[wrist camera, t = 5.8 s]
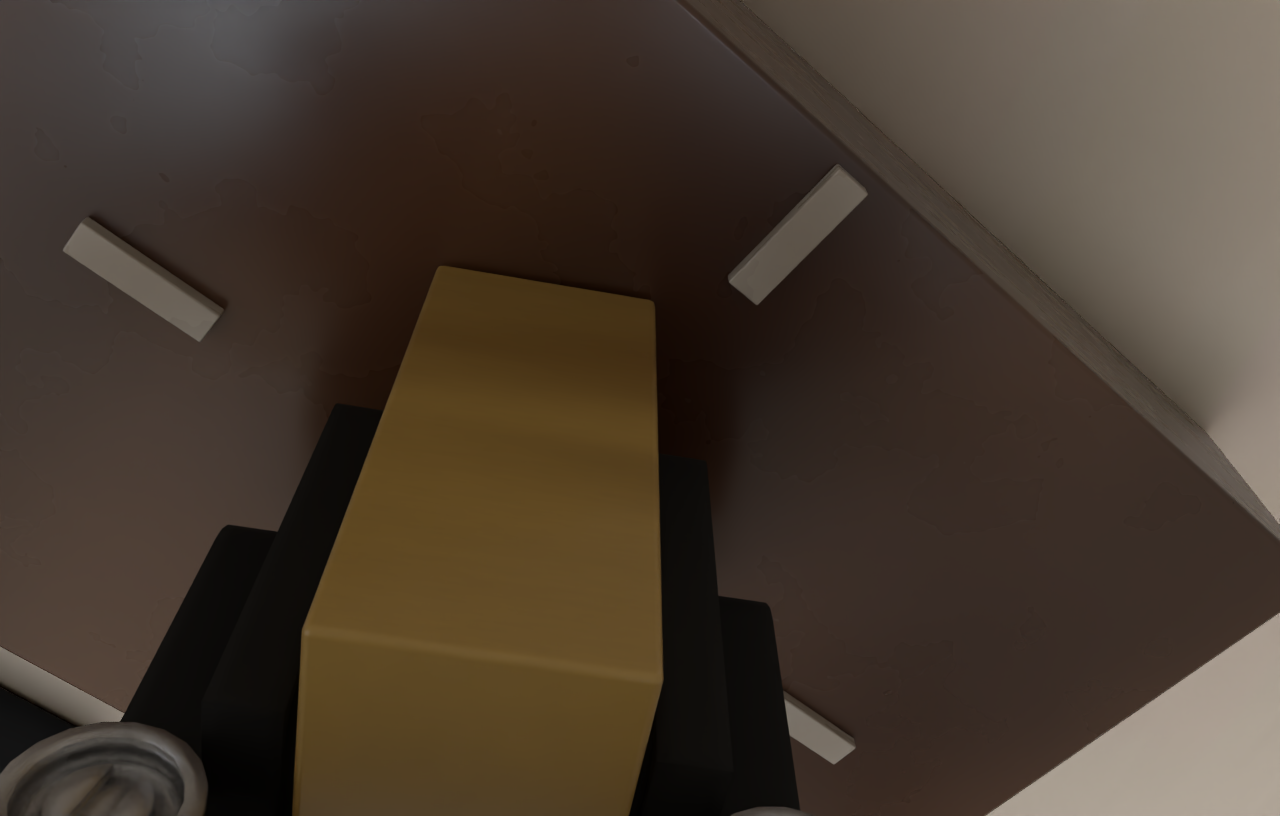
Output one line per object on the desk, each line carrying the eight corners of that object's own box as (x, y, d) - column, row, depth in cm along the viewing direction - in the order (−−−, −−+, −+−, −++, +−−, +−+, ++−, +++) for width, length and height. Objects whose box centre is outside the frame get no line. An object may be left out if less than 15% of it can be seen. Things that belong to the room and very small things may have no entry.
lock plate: (-179, 323, 14) (-371, 464, 12) (262, -443, 11) (130, -499, 8) (684, 842, 19) (692, 1031, 16) (1210, 435, 15) (1334, 592, 12)
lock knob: (437, 262, 11) (286, 658, 6) (656, 298, 11) (666, 710, 6) (391, 707, 13) (260, 1213, 9) (567, 732, 14) (528, 1238, 9)
